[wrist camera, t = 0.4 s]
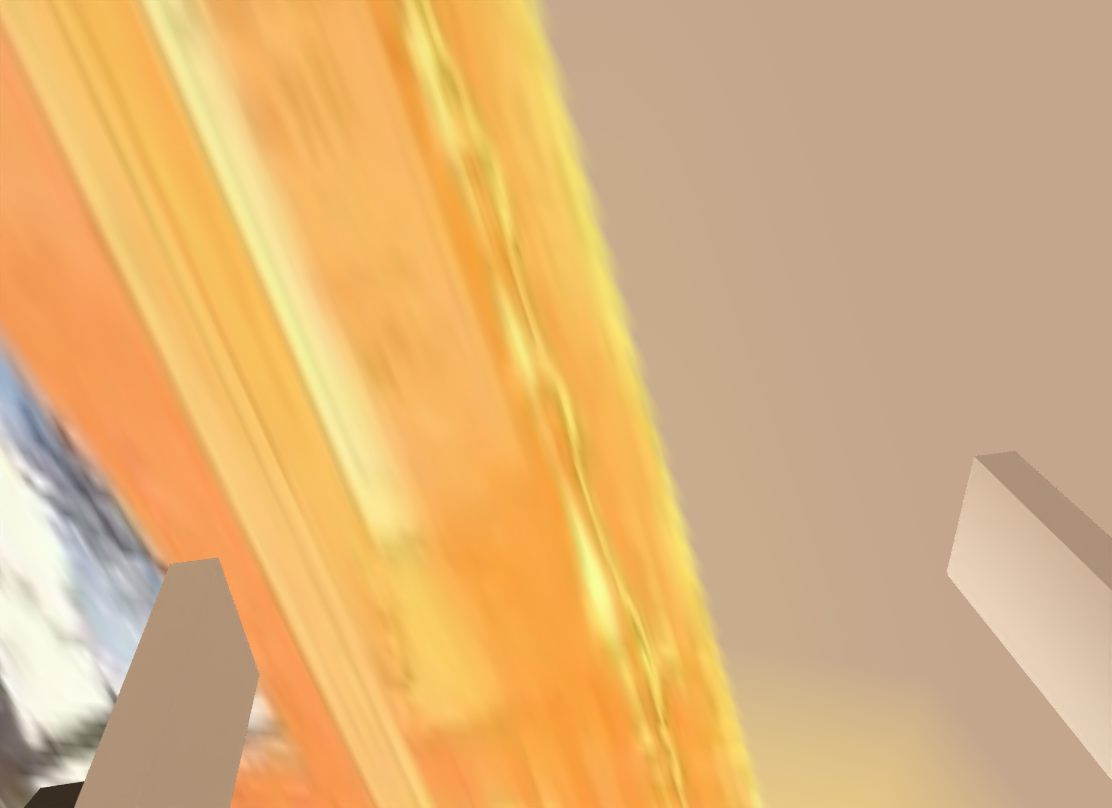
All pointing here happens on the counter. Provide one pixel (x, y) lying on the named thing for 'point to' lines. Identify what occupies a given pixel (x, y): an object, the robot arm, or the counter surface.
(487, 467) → the counter surface
